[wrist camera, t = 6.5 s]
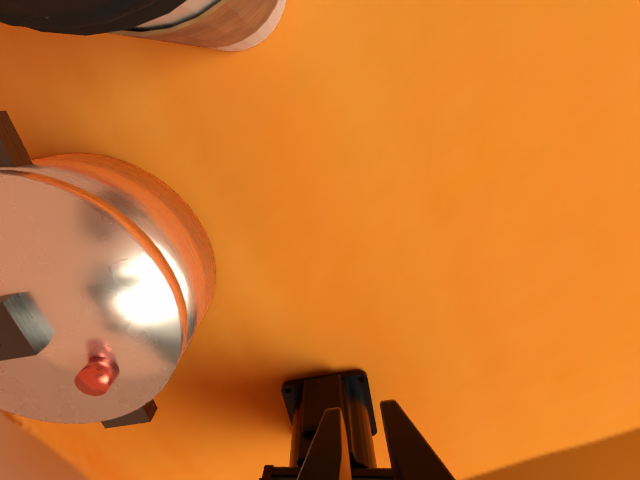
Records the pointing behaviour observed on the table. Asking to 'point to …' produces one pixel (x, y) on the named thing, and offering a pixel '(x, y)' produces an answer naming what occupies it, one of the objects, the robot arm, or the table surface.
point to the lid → (81, 305)
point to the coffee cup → (153, 19)
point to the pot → (144, 210)
